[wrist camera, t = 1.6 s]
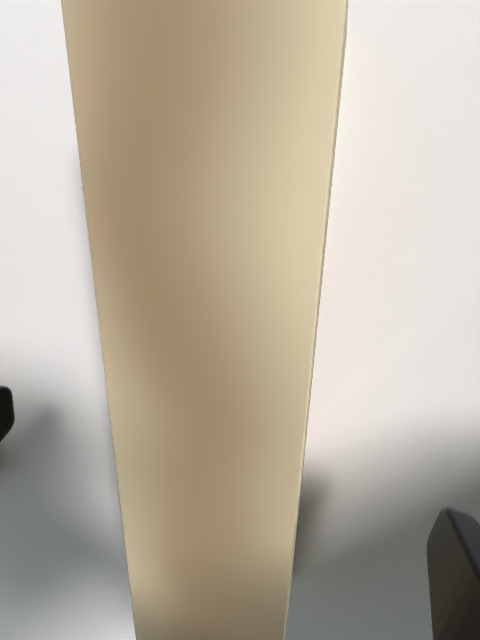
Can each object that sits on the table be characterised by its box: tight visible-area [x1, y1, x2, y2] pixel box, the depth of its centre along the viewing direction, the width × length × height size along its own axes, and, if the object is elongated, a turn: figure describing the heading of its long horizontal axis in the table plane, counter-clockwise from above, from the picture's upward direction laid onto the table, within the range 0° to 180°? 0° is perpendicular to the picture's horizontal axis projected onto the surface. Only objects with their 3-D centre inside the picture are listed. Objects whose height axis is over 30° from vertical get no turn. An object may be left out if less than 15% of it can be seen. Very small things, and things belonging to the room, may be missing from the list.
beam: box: [61, 0, 348, 640], centre depth 10 cm, size 4×16×4 cm, turn 179°
